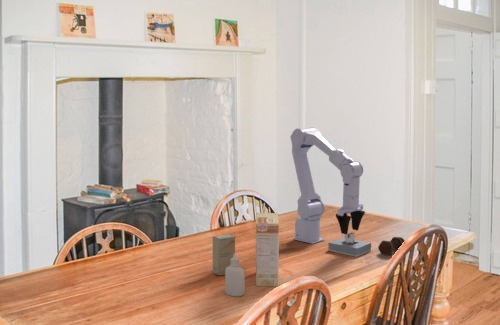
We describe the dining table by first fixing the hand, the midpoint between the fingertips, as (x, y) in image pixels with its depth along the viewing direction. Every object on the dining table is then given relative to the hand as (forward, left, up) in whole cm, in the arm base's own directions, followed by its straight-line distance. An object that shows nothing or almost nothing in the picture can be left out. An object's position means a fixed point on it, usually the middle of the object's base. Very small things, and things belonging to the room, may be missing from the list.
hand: (349, 231), depth 211 cm
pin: (0, 0, -7) cm, 7 cm away
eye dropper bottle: (-1, -61, -7) cm, 61 cm away
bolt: (+12, +11, -8) cm, 18 cm away
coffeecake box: (-3, -44, -7) cm, 45 cm away
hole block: (0, 0, -7) cm, 7 cm away
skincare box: (-17, -49, -7) cm, 52 cm away
